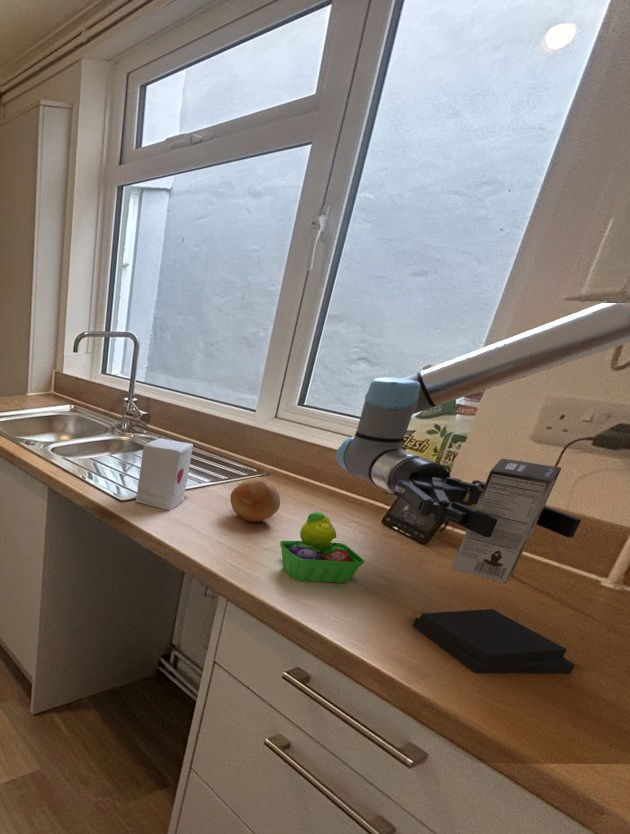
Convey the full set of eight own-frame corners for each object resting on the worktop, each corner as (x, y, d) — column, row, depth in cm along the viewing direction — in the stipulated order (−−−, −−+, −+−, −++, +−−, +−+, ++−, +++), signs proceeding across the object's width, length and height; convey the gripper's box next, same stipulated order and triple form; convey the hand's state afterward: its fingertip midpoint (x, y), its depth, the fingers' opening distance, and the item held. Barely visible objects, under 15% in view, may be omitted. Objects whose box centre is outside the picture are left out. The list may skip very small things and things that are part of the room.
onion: (224, 509, 127) (232, 469, 123) (270, 514, 124) (280, 474, 120) (229, 524, 118) (237, 483, 115) (279, 530, 115) (289, 488, 111)
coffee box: (462, 551, 86) (501, 456, 79) (517, 565, 81) (562, 466, 75) (449, 568, 80) (489, 469, 74) (507, 585, 76) (555, 480, 70)
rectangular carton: (170, 511, 126) (179, 451, 120) (134, 502, 131) (142, 444, 126) (184, 501, 132) (194, 443, 126) (150, 492, 137) (158, 437, 132)
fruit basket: (290, 583, 95) (305, 526, 90) (270, 560, 103) (283, 507, 98) (359, 587, 93) (378, 530, 89) (333, 564, 101) (349, 510, 97)
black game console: (494, 624, 83) (501, 608, 81) (570, 673, 72) (580, 655, 71) (408, 624, 83) (414, 608, 82) (472, 673, 72) (480, 655, 71)
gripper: (468, 496, 95) (605, 552, 75) (339, 496, 96) (439, 552, 75) (484, 456, 92) (630, 503, 72) (350, 456, 93) (458, 503, 72)
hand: (532, 528), depth 74 cm, fingers closed on coffee box, 11 cm apart
